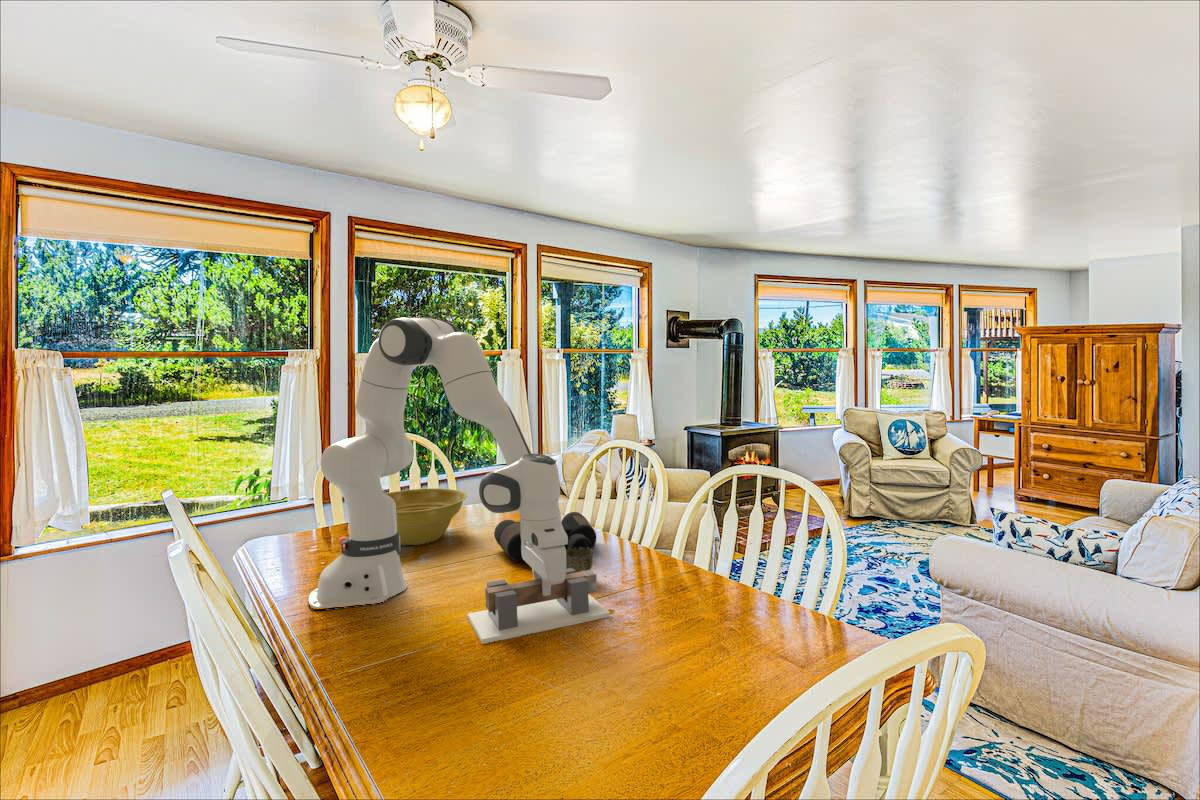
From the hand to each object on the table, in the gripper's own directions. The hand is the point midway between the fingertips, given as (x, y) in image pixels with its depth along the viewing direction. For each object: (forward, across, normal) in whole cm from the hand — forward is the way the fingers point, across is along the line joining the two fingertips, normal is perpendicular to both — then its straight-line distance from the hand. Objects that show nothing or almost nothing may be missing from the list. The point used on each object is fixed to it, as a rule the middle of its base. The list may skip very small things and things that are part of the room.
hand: (542, 591), depth 133 cm
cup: (+6, -16, +15) cm, 22 cm away
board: (+6, 0, -1) cm, 6 cm away
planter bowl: (+6, -76, -17) cm, 78 cm away
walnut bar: (+2, 0, 0) cm, 2 cm away
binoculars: (+6, -40, +16) cm, 44 cm away
